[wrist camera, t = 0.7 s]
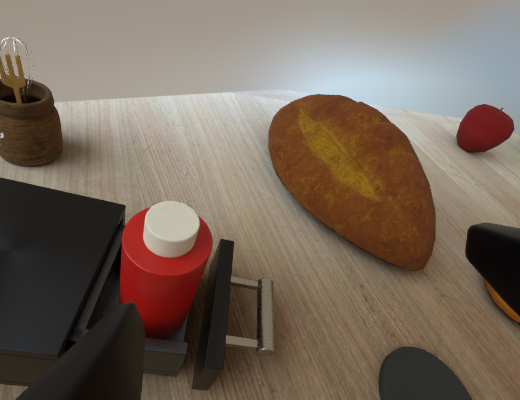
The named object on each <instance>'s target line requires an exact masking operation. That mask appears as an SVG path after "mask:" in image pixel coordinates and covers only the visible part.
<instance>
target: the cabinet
mask: <svg viewBox="0 0 520 400" xmlns="http://www.w3.org/2000/svg"><path fill="white" fill-rule="evenodd" d="M125 208H126V206H125V205H122V204H117V203H113V202H108V201H104V200H99V199H95V198H90V197H86V196H81V195H77V194H72V193H68V192H63V191H59V190H54V189H50V188H45V187H41V186H36V185H32V184H27V183H23V182H18V181H14V180H9V179H5V178H0V384H9V385H19V386H30V385H32V384H33V383H34V382H35V381H36V380H37V379H38V378H39V377H40V376H41V375H42V374H43V373H44V372H45V371H46V370H48V369H49V368H50V367H51V366H52V365H53V364H54V363H55V362H56V361H57V360H58V359H59V358H60V357H61V356H62V355H63V354H65V353H66V352H67V351H68V347H67V340H68V338H69V336H70V334H71V332H72V329H73V327H74V325H75V323H76V320H77V318H78V316H79V314H80V311H81V309H82V307H83V305H84V302H85V300H86V298H87V296H88V293H89V291H90V289H91V287H92V284H93V282H94V280H95V278H96V276H97V273H98V271H99V269H100V267H101V264H102V262H103V260H104V258H105V255H106V253H107V251H108V249H109V246H110V244H111V242H112V240H113V237H114V235H115V233H116V231H117V228H118V226H119V224H120V225H125Z"/></svg>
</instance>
